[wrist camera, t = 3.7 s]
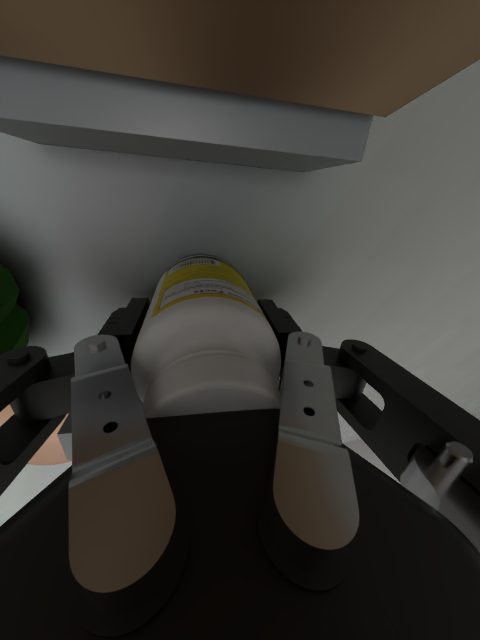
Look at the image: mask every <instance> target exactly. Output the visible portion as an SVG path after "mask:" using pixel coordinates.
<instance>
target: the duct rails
mask: <svg viewBox="0 0 480 640" xmlns="http://www.w3.org/2000/svg"><path fill="white" fill-rule="evenodd" d="M372 117H373V115H369V114H363V113H357V112H351V111H344V110H338V109H332V108H326V107H319V106H313V105H307V104H301V103H294V102H288V101H282V100H276V99H269V98H263V97H257V96H251V95H244V94H238V93H232V92H226V91H219V90H213V89H207V88H201V87H194V86H188V85H182V84H176V83H170V82H163V81H157V80H151V79H145V78H138V77H132V76H126V75H120V74H113V73H107V72H101V71H95V70H88V69H82V68H76V67H70V66H63V65H57V64H51V63H45V62H38V61H32V60H26V59H20V58H13V57H7V56H1V55H0V132H2V133H6V134H9V135H12V136H15V137H19V138H22V139H25V140H29V141H32V142H35V143H38V144H47V145H56V146H65V147H75V148H84V149H93V150H103V151H112V152H121V153H131V154H140V155H149V156H159V157H168V158H177V159H186V160H196V161H205V162H214V163H224V164H233V165H242V166H252V167H261V168H270V169H280V170H289V171H298V172H306V171H311V170H317V169H322V168H328V167H333V166H339V165H344V164H350V163H355V162H360V161H361V160H362V156H363V152H364V148H365V144H366V140H367V137H368V133H369V129H370V125H371V121H372ZM279 381H280V379H279V377H278V380H277V383H276V384H277V387H278V386H279ZM138 397H139V396H138ZM139 400H140V403H141V406H143V402H142V401H141V399H140V398H139ZM57 436H58V438H59V441H60V443H61V446H62V448H63V451H64V453H65V455H66V458H67V460H72V420H71V413H69V414H68V416H67V418H66V419H65V421H64V423H63V424H62V426H61V428H60V430H59V431H58V433H57Z"/></svg>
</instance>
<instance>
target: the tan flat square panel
mask: <svg viewBox="0 0 480 640" xmlns="http://www.w3.org/2000/svg"><path fill="white" fill-rule="evenodd" d="M0 55H1V56H7V57H13V58H20V59H26V60H32V61H38V62H45V63H51V64H57V65H63V66H70V67H76V68H82V69H88V70H95V71H101V72H107V73H113V74H120V75H126V76H132V77H138V78H145V79H151V80H157V81H163V82H170V83H176V84H182V85H188V86H194V87H201V88H207V89H213V90H219V91H226V92H232V93H238V94H244V95H251V96H257V97H263V98H269V99H276V100H282V101H288V102H294V103H301V104H307V105H313V106H319V107H326V108H332V109H338V110H344V111H351V112H357V113H363V114H369V115H376V116H382V117H386V116H388V115H389V114H391V113H393V112H394V111H396V110H398V109H399V108H401V107H403V106H404V105H406V104H407V103H409V102H411V101H412V100H414V99H416V98H417V97H419V96H421V95H422V94H424V93H425V92H427V91H429V90H430V89H432V88H434V87H435V86H437V85H438V84H440V83H442V82H443V81H445V80H447V79H448V78H450V77H452V76H453V75H455V74H456V73H458V72H460V71H461V70H463V69H465V68H466V67H468V66H470V65H471V64H473V63H474V62H476V61H478V60H479V59H480V0H0Z"/></svg>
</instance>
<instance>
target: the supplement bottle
mask: <svg viewBox="0 0 480 640" xmlns="http://www.w3.org/2000/svg"><path fill="white" fill-rule="evenodd" d="M280 369H281V353H280V348H279V344H278V341H277V339H276V336H275V334H274V332H273V330H272V328H271V326H270V324H269V323H268V321H267V319H266V317H265V316H264V314H263V312H262V310H261V309H260V307H259V305H258V304H257V302H256V300H255V298H254V297H253V295H252V293H251V291H250V290H249V288H248V286H247V284H246V283H245V281H244V280H243V278H242V276H241V275H240V274H239V272H238V271H237V270H236V269H235V268H234V267H233V266H232V265H230V264H229V263H227V262H226V261H224V260H222V259H220V258H217V257H214V256H208V255H194V256H189V257H186V258H183V259H181V260H179V261H177V262H176V263H174V264H173V265H171V266H170V267H169V268H168V269H167V270H166V271H165V273H164V274H163V275H162V277H161V279H160V281H159V283H158V285H157V288H156V290H155V293H154V295H153V298H152V301H151V303H150V306H149V309H148V311H147V314H146V316H145V319H144V322H143V325H142V327H141V330H140V333H139V335H138V338H137V341H136V344H135V346H134V350H133V354H132V359H131V376H132V379H133V382H134V385H135V388H136V391H137V394H138V396H139V398H140V399H141V401H142V402H143V406H142V409H143V412H144V415H145V417H146V418H156V417H168V416H179V415H191V414H203V413H215V412H226V411H240V410H255V409H271V408H279V407H280V399H281V396H280V393H279V390H278V387H277V384H276V383H277V380H278V377H279V374H280Z"/></svg>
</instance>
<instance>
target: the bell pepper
mask: <svg viewBox="0 0 480 640" xmlns="http://www.w3.org/2000/svg"><path fill="white" fill-rule="evenodd" d="M18 294H19V288H18V286H17V284H16V282H15V280H14V278H13V276H12V274H11V272H10V271H8V270H7V269H6V268H4V267H3V266H1V265H0V355H1V354H3V353H5V352H8V351H11V350H14V349H17V348H22V347H26V346H27V344H28V342H29V321H30V320H29V316H28V312H27V311H26V310H25V309H23V308H22V307H21V306H19V305H18V304H17V303H16V301H17V298H18Z"/></svg>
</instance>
